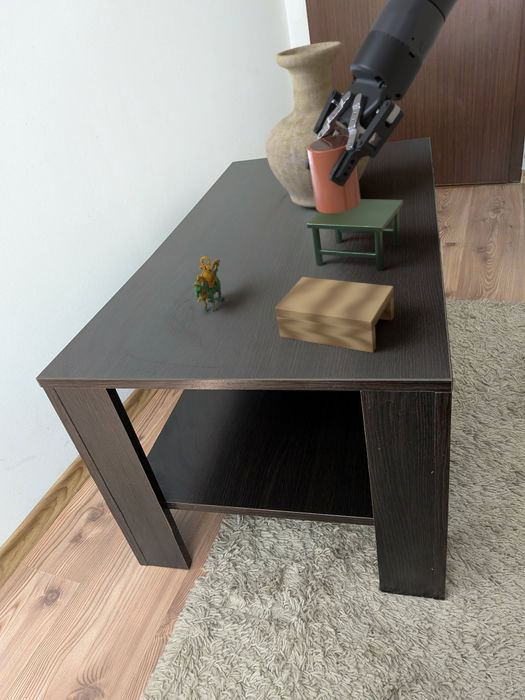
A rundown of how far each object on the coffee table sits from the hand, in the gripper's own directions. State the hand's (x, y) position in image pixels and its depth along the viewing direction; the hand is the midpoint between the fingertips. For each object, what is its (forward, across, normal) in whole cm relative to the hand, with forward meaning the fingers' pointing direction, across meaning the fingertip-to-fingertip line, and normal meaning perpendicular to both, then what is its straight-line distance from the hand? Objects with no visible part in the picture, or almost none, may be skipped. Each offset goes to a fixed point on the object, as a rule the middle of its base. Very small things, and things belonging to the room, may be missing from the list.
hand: (322, 176), depth 65 cm
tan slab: (+16, +4, +12) cm, 21 cm away
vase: (+2, -42, +29) cm, 51 cm away
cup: (+2, 0, +4) cm, 5 cm away
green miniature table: (+7, -14, +23) cm, 27 cm away
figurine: (+25, -15, +3) cm, 30 cm away
